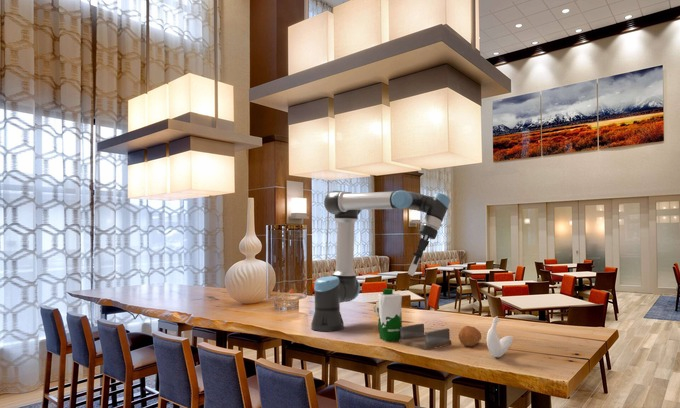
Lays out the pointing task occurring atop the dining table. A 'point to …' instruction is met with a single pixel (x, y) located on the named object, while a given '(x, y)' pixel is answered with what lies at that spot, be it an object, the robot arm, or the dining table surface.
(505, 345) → the white bird figurine
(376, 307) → the white and green figurine
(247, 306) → the dining table surface
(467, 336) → the potato
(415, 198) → the robot arm
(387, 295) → the soya milk
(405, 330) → the grey square holder
